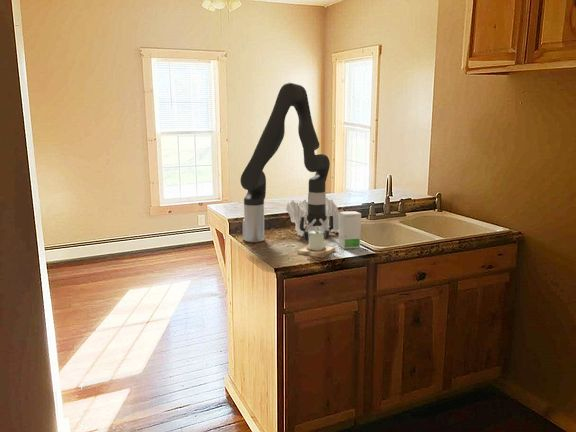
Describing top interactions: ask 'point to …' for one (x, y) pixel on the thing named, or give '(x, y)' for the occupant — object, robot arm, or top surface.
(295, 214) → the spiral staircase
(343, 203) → the top surface
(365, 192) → the top surface
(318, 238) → the pale green cylinder
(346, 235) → the skincare box
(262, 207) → the robot arm
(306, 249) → the post
